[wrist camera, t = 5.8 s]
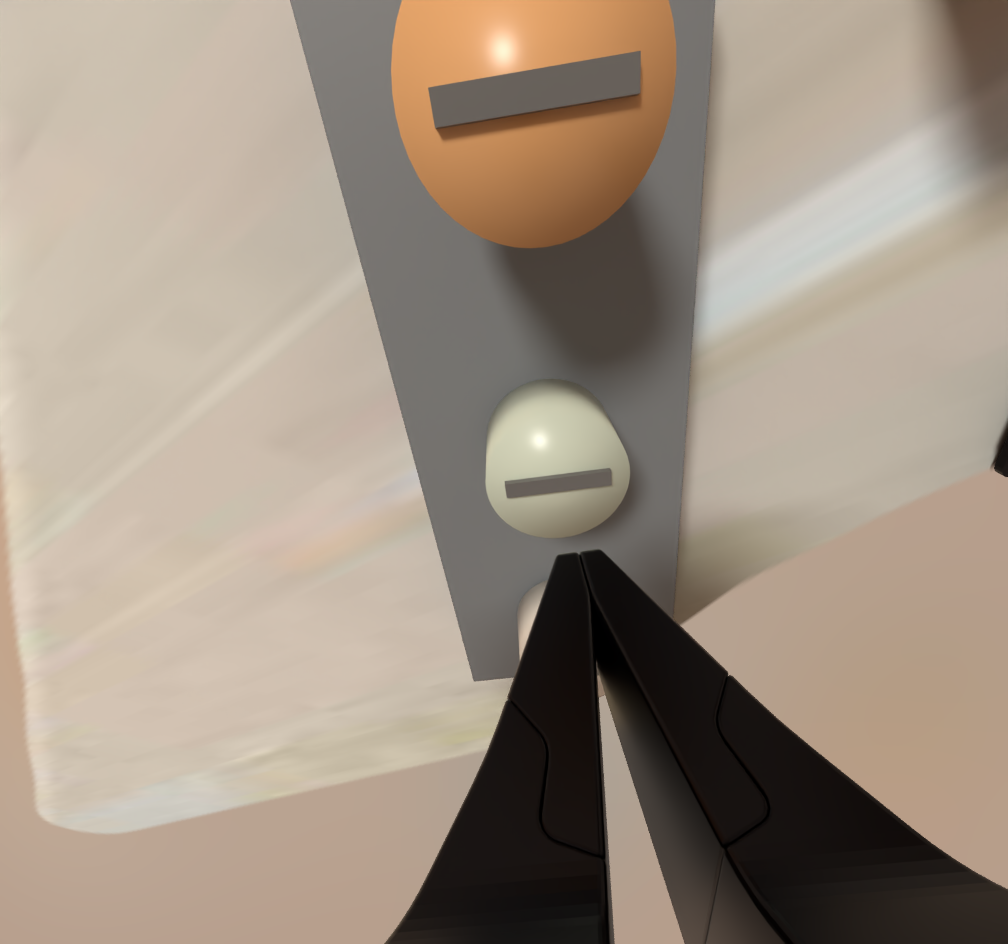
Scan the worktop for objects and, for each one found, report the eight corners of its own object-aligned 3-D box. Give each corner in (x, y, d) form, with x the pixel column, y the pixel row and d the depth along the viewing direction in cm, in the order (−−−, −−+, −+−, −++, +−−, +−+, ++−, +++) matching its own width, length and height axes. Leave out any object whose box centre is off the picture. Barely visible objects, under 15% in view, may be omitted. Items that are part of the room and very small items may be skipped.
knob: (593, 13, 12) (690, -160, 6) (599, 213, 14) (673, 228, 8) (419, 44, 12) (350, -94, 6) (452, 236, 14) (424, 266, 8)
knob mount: (672, -83, 13) (726, -165, 10) (650, 608, 27) (670, 661, 24) (319, -16, 13) (269, -76, 10) (476, 627, 27) (474, 681, 24)
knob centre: (589, 341, 19) (632, 408, 13) (593, 439, 21) (631, 533, 15) (479, 357, 19) (473, 429, 13) (495, 452, 21) (496, 549, 15)
